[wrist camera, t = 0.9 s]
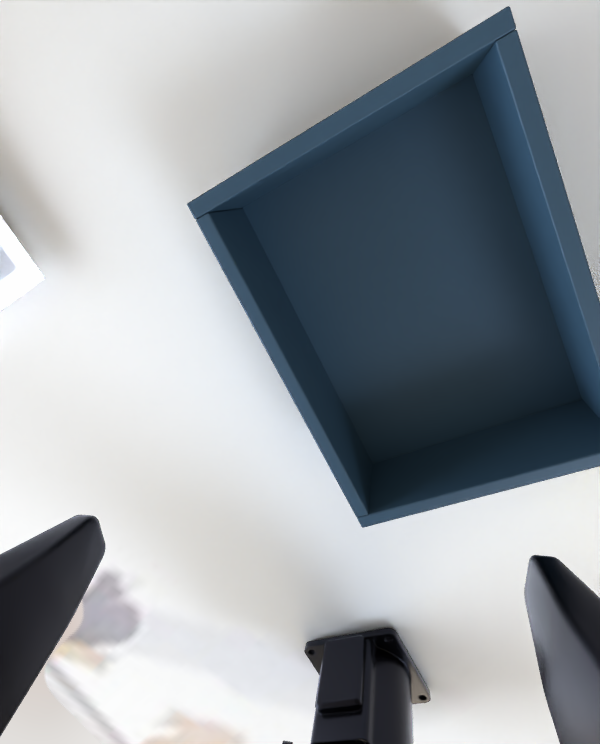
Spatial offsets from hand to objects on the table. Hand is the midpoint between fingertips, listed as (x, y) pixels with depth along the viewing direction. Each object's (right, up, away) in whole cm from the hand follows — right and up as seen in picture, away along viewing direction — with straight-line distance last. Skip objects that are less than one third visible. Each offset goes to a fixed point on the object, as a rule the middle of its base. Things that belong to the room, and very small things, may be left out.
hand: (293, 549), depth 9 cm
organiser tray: (+5, +7, +11) cm, 14 cm away
